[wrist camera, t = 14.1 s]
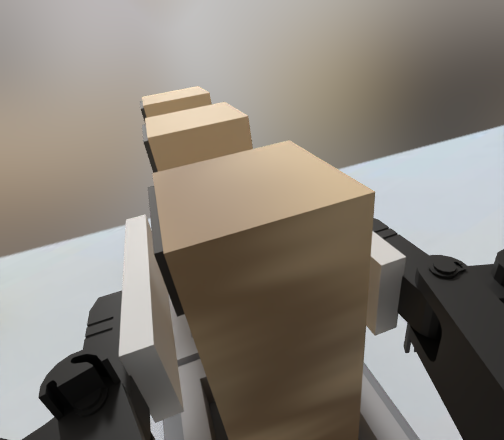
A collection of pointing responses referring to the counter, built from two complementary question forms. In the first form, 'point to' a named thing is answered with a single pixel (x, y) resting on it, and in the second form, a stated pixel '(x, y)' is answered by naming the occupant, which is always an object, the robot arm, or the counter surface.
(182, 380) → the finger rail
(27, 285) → the counter surface
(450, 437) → the counter surface
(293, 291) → the oak finger
